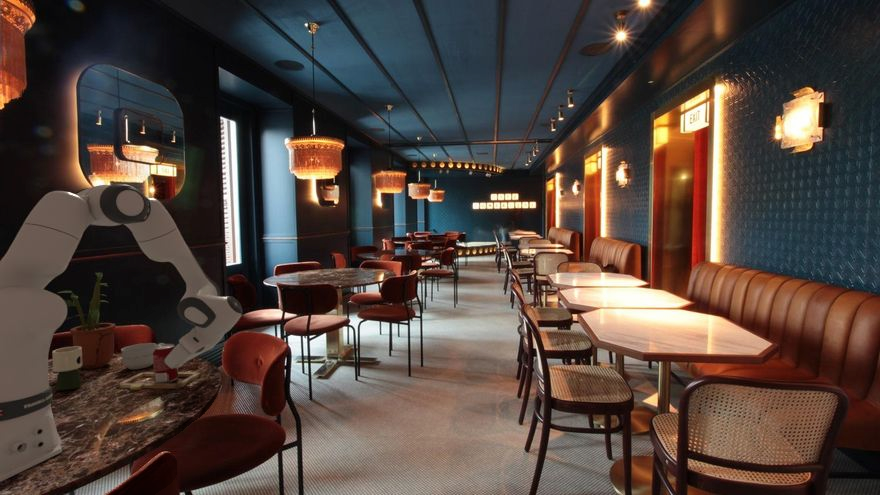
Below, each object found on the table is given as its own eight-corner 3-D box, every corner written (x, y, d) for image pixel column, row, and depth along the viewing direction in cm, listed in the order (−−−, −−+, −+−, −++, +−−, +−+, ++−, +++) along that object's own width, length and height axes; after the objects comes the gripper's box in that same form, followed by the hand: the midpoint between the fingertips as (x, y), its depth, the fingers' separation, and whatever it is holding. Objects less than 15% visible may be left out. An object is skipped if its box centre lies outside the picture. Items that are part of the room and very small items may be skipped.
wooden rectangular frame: (176, 390, 137) (176, 386, 137) (112, 389, 137) (111, 386, 137) (203, 373, 152) (203, 370, 152) (145, 373, 152) (145, 370, 152)
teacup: (120, 374, 152) (119, 351, 151) (124, 365, 161) (123, 344, 160) (166, 367, 159) (165, 346, 158) (167, 359, 168) (167, 339, 168)
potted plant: (112, 358, 169) (108, 270, 167) (123, 367, 159) (118, 273, 157) (53, 370, 156) (48, 274, 154) (61, 380, 146) (55, 278, 144)
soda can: (167, 385, 141) (165, 349, 140) (149, 384, 142) (147, 348, 141) (183, 378, 147) (181, 343, 146) (165, 377, 148) (163, 343, 148)
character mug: (83, 391, 136) (81, 351, 135) (53, 397, 132) (51, 355, 131) (83, 381, 145) (81, 343, 144) (55, 386, 140) (53, 347, 139)
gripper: (214, 323, 153) (189, 349, 154) (178, 338, 133) (149, 369, 134) (227, 335, 153) (202, 362, 154) (192, 353, 133) (163, 383, 134)
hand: (177, 365), depth 144 cm, fingers closed
